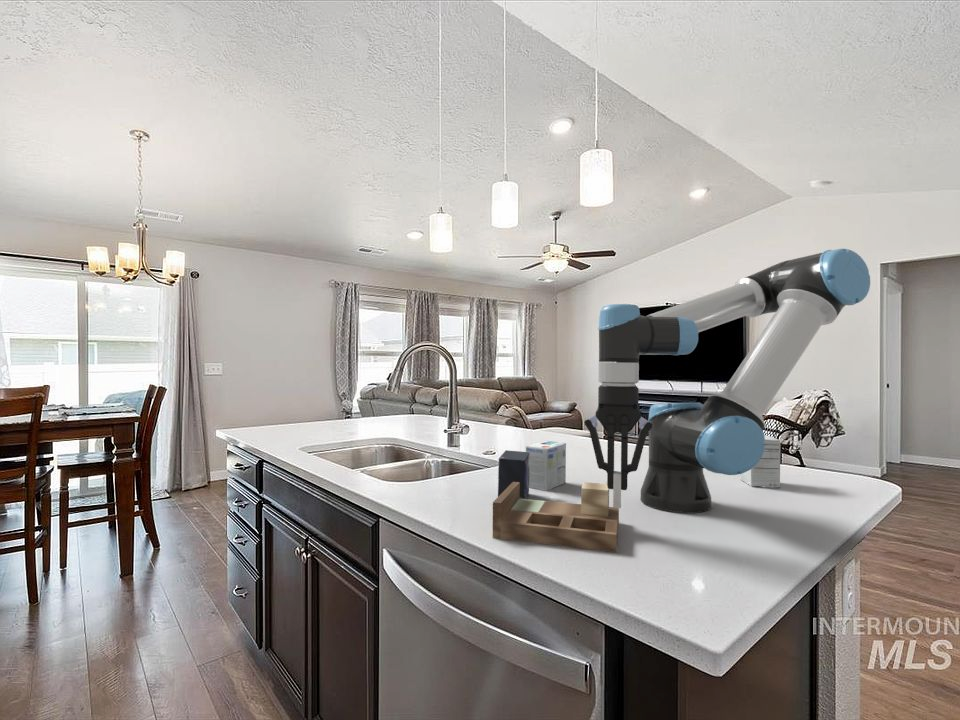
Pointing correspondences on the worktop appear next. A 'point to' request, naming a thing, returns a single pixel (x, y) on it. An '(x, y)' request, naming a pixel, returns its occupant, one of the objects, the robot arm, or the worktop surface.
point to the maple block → (594, 499)
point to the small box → (514, 471)
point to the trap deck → (552, 522)
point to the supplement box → (765, 466)
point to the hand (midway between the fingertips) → (617, 505)
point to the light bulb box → (547, 465)
